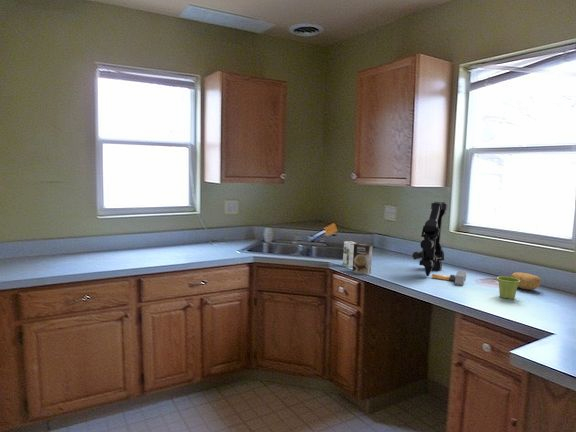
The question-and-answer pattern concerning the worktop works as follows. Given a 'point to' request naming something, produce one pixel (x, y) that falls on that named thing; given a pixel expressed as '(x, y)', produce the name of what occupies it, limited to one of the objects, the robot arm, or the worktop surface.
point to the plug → (444, 277)
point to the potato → (527, 280)
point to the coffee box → (362, 258)
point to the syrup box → (348, 253)
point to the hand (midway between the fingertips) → (427, 275)
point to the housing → (460, 277)
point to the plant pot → (508, 287)
